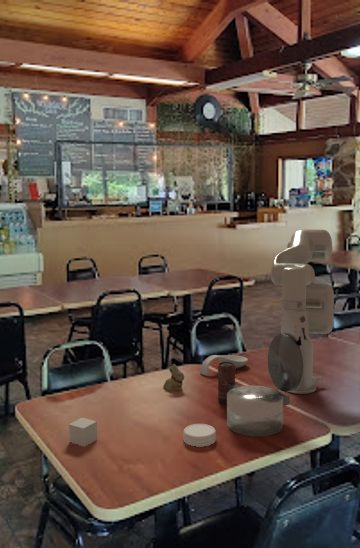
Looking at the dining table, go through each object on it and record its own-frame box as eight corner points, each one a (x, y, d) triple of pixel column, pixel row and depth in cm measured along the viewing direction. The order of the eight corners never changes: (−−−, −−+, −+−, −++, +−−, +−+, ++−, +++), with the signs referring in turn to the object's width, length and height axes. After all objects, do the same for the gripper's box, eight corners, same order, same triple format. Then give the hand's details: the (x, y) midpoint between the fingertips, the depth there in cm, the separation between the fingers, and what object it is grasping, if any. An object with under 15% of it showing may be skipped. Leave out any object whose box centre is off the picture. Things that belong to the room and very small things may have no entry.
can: (234, 404, 200) (234, 366, 198) (217, 403, 201) (216, 366, 199) (236, 398, 206) (236, 361, 204) (219, 397, 207) (219, 360, 205)
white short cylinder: (205, 450, 166) (205, 439, 165) (177, 443, 171) (177, 432, 171) (221, 437, 174) (221, 427, 174) (194, 431, 179) (193, 420, 179)
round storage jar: (259, 401, 202) (259, 375, 201) (299, 429, 179) (300, 399, 177) (208, 410, 195) (208, 383, 193) (243, 440, 171) (243, 409, 170)
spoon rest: (234, 361, 252) (234, 345, 251) (253, 367, 243) (253, 351, 242) (194, 372, 237) (194, 356, 236) (213, 379, 228) (213, 362, 227)
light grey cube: (84, 447, 169) (83, 428, 168) (69, 442, 172) (68, 424, 172) (97, 439, 174) (96, 421, 173) (83, 435, 177) (82, 417, 176)
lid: (265, 381, 194) (274, 380, 195) (296, 399, 176) (305, 398, 178) (270, 328, 191) (279, 328, 193) (301, 342, 174) (310, 341, 176)
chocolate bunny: (174, 393, 212) (174, 367, 211) (161, 388, 218) (161, 363, 217) (185, 389, 216) (185, 364, 215) (172, 384, 222) (172, 360, 220)
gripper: (317, 307, 177) (316, 363, 180) (290, 299, 191) (290, 352, 193) (297, 310, 174) (296, 367, 177) (271, 301, 188) (271, 354, 191)
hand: (293, 359), depth 185 cm, fingers closed
